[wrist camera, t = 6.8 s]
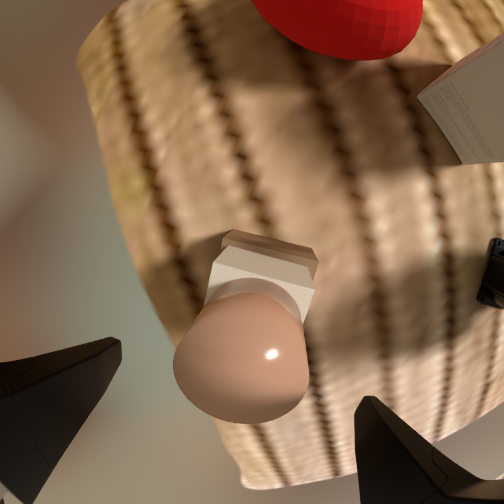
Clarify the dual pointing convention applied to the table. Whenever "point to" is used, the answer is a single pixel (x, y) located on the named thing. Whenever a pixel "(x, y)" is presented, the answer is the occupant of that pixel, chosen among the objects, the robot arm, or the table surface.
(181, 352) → the brown rounded lump
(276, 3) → the tomato
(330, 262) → the table surface
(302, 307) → the cream block
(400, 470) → the robot arm
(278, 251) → the walnut base block
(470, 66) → the supplement box
